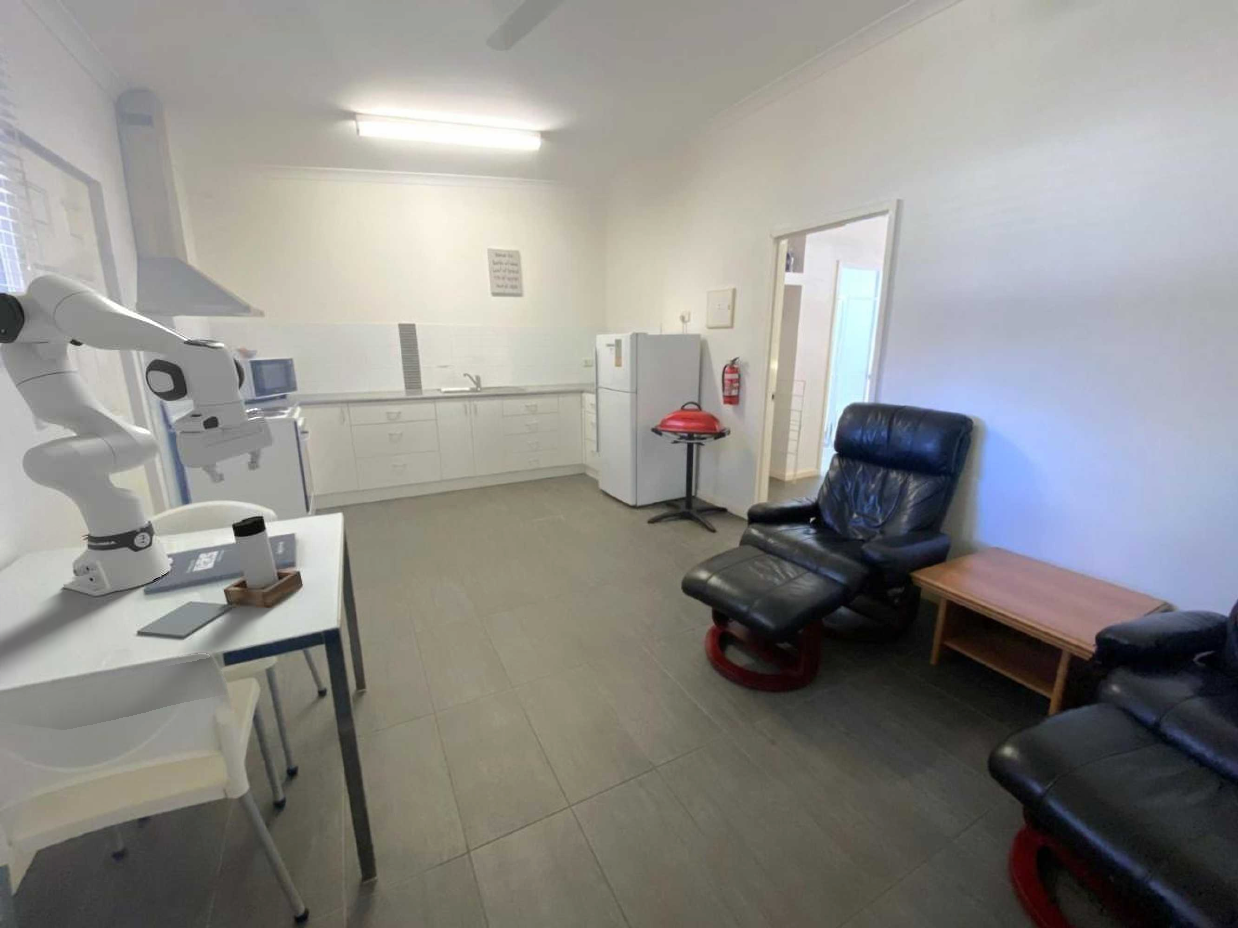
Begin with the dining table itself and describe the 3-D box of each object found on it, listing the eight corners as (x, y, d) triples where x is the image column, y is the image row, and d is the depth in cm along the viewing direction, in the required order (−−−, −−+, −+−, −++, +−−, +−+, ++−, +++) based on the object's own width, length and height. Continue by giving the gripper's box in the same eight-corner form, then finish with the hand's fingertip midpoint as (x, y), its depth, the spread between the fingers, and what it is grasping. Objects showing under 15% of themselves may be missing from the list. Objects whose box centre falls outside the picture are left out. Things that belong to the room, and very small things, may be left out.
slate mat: (137, 633, 110) (136, 631, 110) (190, 603, 122) (190, 601, 121) (184, 637, 108) (183, 635, 108) (234, 606, 120) (233, 604, 119)
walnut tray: (227, 604, 121) (223, 589, 120) (263, 582, 131) (259, 568, 129) (269, 607, 119) (265, 592, 118) (302, 585, 129) (299, 570, 128)
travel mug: (266, 602, 121) (247, 524, 115) (243, 600, 122) (223, 522, 117) (288, 589, 127) (270, 514, 121) (265, 586, 128) (247, 512, 123)
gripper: (250, 407, 123) (262, 462, 126) (164, 425, 103) (182, 489, 107) (273, 407, 122) (285, 462, 125) (190, 425, 102) (208, 490, 106)
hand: (237, 475), depth 116 cm, fingers open, 8 cm apart
